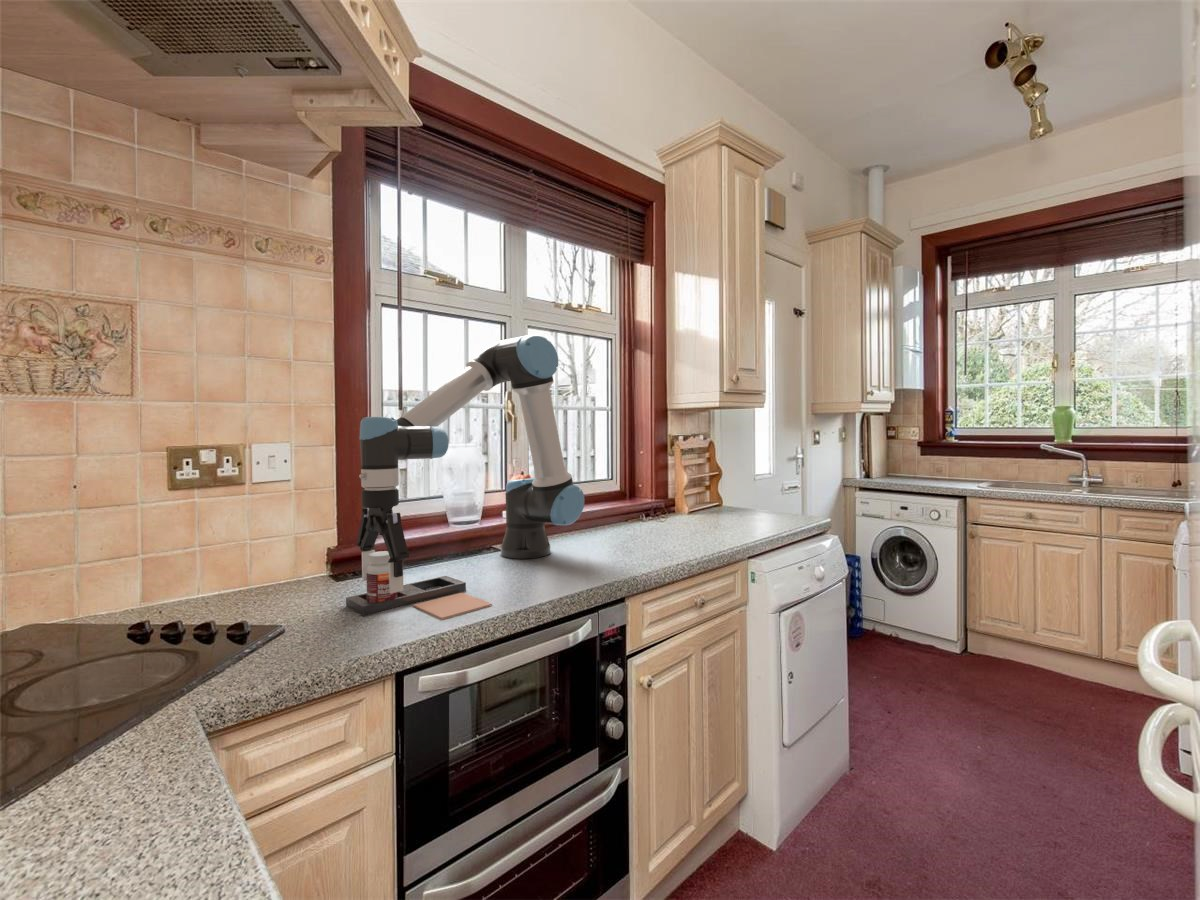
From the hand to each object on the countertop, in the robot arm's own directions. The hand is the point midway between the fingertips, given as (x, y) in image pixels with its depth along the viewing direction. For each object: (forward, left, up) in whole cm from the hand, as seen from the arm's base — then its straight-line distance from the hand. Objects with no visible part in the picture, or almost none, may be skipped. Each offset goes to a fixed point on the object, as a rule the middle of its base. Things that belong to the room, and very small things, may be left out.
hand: (382, 585), depth 118 cm
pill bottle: (0, 0, -4) cm, 4 cm away
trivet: (-10, +12, -4) cm, 16 cm away
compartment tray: (-6, 0, -4) cm, 7 cm away
